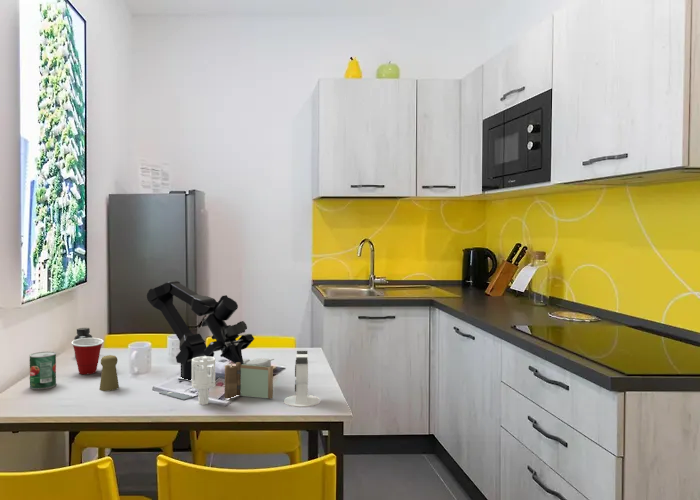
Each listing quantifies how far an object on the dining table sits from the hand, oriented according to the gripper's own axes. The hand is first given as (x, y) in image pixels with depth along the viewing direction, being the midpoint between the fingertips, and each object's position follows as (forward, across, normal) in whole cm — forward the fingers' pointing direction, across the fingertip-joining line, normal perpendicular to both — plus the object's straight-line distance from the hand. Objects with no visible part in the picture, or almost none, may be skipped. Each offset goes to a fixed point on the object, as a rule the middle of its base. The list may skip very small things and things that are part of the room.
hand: (242, 365), depth 189 cm
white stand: (+22, +3, -10) cm, 25 cm away
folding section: (+12, -3, -1) cm, 13 cm away
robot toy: (-4, +20, +17) cm, 27 cm away
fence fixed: (+8, -7, +4) cm, 12 cm away
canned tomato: (-34, -36, +48) cm, 68 cm away
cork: (-20, -24, +33) cm, 46 cm away
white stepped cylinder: (+6, -17, +6) cm, 19 cm away
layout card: (-3, -14, +15) cm, 21 cm away
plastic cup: (-37, -17, +50) cm, 65 cm away
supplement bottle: (-53, -4, +67) cm, 85 cm away
